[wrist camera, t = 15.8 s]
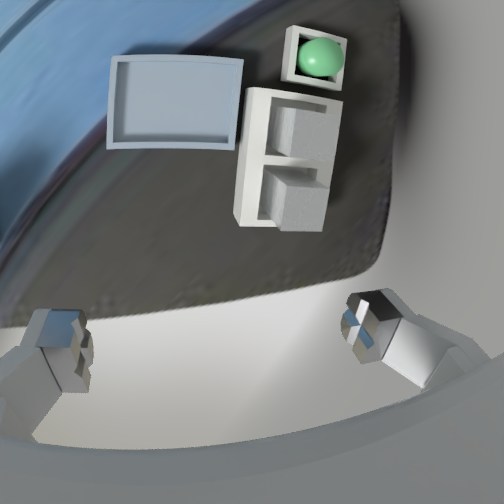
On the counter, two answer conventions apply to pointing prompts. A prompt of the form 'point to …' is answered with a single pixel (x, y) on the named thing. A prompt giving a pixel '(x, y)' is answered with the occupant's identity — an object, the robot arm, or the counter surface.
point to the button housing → (291, 54)
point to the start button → (320, 57)
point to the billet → (303, 133)
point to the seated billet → (293, 200)
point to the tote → (173, 101)
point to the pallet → (272, 150)
